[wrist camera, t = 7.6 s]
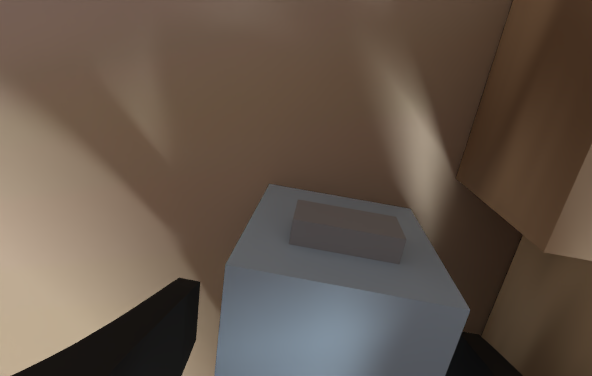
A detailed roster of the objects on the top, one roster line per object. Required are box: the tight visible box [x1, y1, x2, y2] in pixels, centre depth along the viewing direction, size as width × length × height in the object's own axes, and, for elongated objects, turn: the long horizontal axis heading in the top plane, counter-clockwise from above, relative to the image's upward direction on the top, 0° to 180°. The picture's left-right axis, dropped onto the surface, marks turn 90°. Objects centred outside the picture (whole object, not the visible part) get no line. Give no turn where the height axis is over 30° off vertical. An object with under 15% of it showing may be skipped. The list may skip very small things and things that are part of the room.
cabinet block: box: [215, 184, 470, 376], centre depth 10 cm, size 8×4×5 cm, turn 171°
